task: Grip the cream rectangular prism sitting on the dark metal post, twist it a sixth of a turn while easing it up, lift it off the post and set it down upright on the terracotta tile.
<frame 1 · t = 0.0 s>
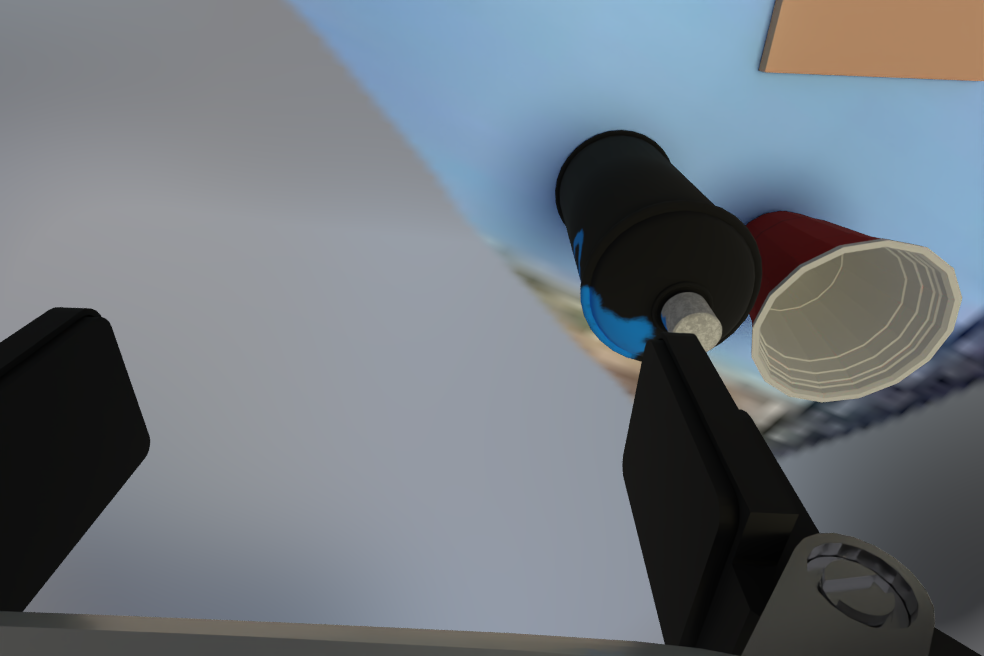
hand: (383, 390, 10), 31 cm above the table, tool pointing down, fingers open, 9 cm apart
plastic cup: (767, 249, 42), on the table
aerosol can: (613, 189, 40), on the table
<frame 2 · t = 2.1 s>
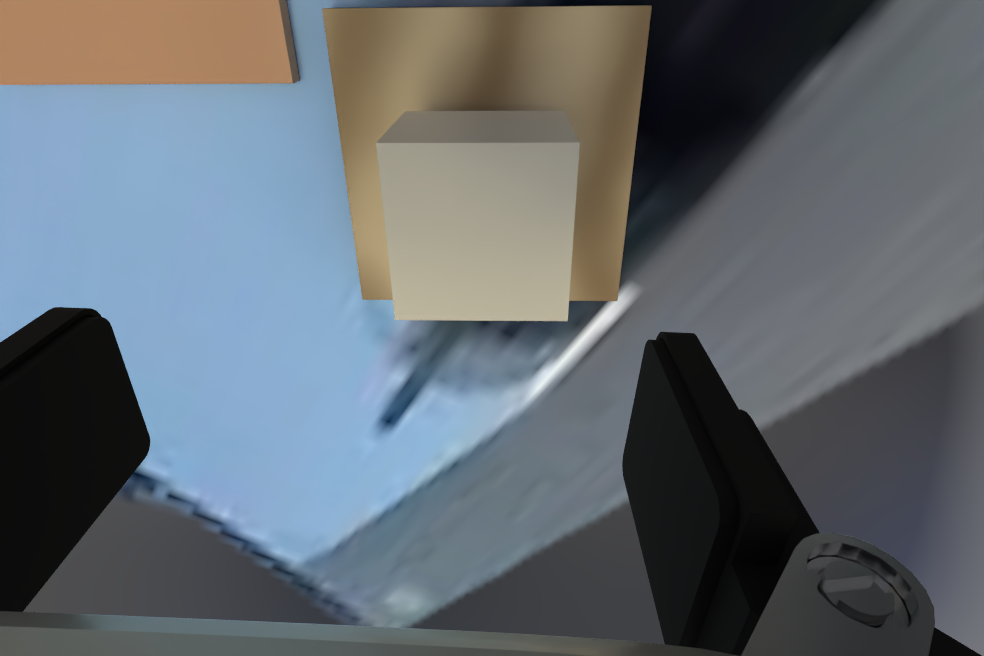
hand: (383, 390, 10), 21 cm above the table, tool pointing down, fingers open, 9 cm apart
cream rectangular prism: (485, 189, 25), point 4 cm above the table, touching post stand
post stand: (488, 164, 29), on the table
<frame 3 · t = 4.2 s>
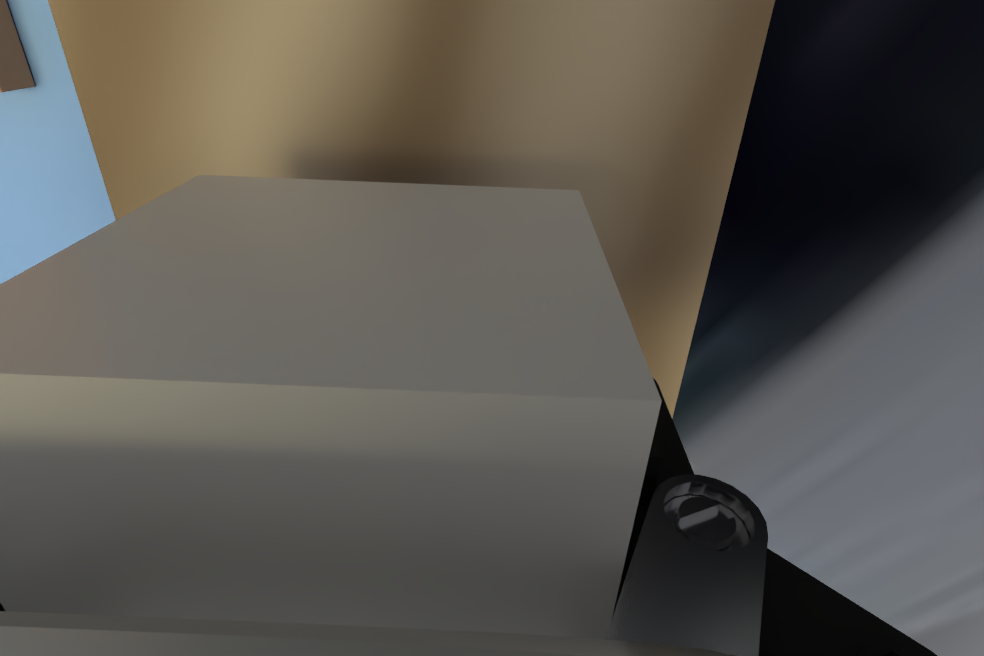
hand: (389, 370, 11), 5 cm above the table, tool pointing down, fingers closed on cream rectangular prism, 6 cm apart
cream rectangular prism: (398, 344, 11), point 4 cm above the table, touching gripper, post stand
post stand: (424, 260, 15), on the table
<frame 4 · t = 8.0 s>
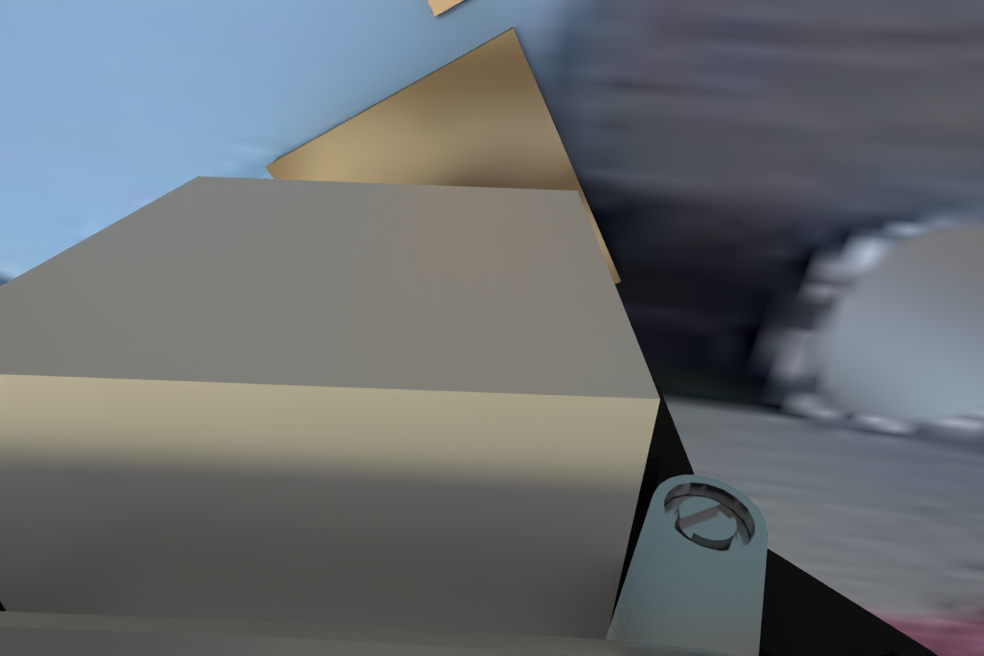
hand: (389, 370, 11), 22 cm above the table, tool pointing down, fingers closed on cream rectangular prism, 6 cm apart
cream rectangular prism: (397, 345, 11), point 21 cm above the table, touching gripper
post stand: (453, 217, 32), on the table
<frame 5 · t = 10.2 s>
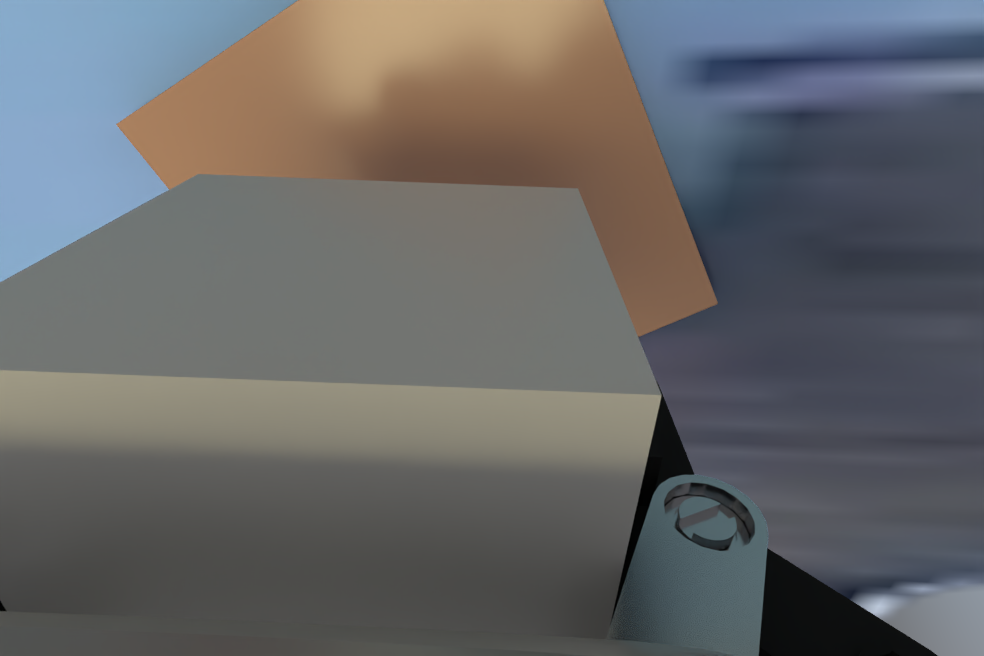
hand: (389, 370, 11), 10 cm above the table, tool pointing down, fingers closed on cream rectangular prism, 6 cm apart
tile: (441, 210, 19), on the table
cream rectangular prism: (397, 343, 11), point 9 cm above the table, touching gripper
when the fingers open (3 cm above the table, at t = 12.1 s): cream rectangular prism drops 1 cm, resting on tile.
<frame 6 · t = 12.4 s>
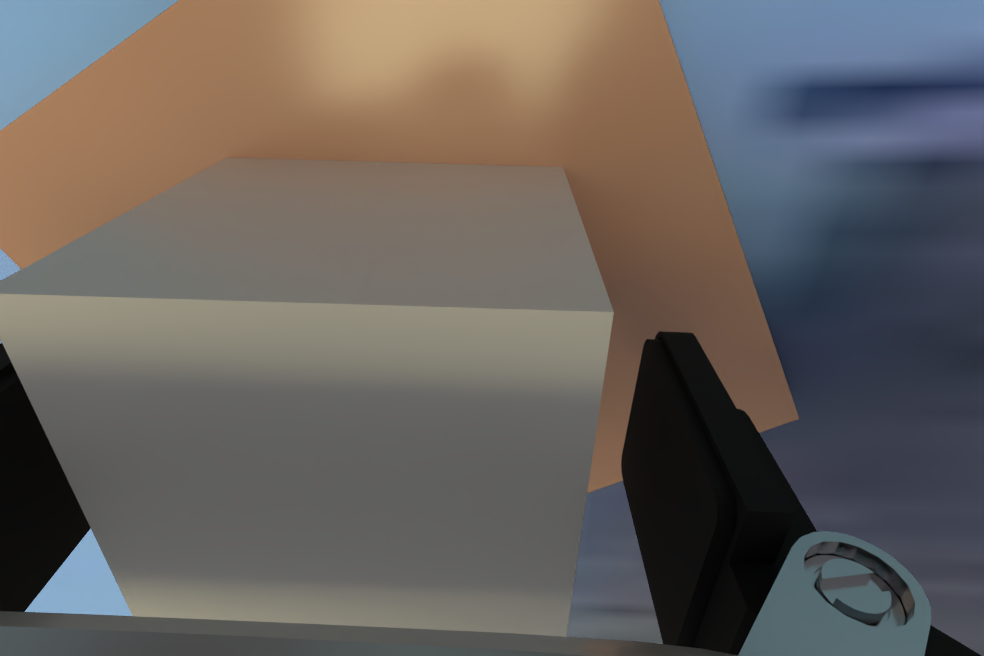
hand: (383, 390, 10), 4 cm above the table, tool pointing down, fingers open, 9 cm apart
tile: (414, 291, 14), on the table
cream rectangular prism: (403, 310, 13), point 1 cm above the table, touching tile
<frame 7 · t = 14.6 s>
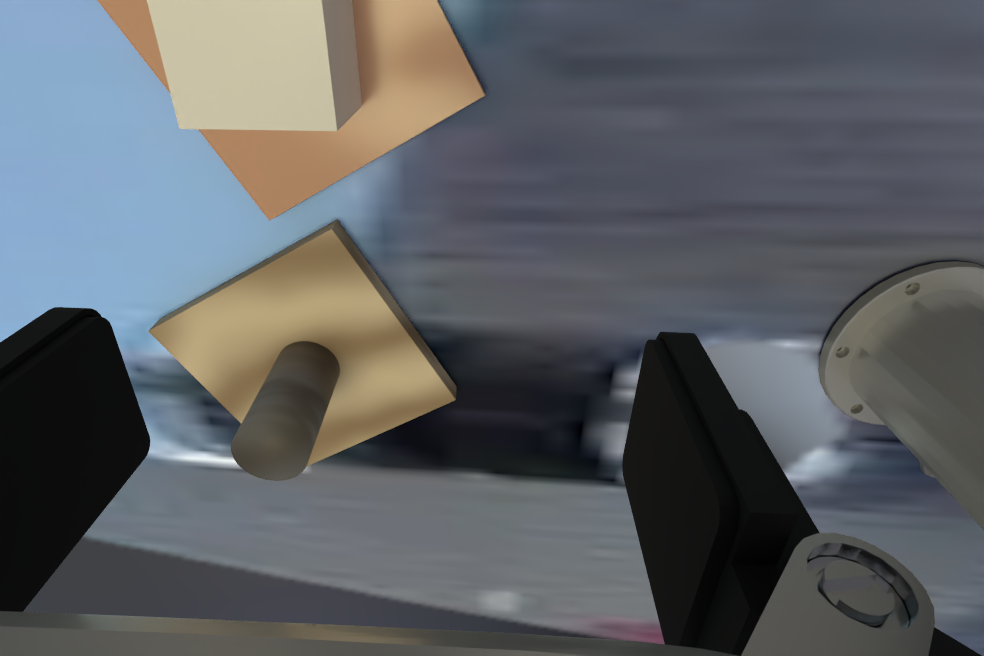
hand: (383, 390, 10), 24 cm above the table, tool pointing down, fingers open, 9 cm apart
tile: (294, 31, 28), on the table
cream rectangular prism: (286, 32, 27), point 1 cm above the table, touching tile
post stand: (314, 354, 38), on the table
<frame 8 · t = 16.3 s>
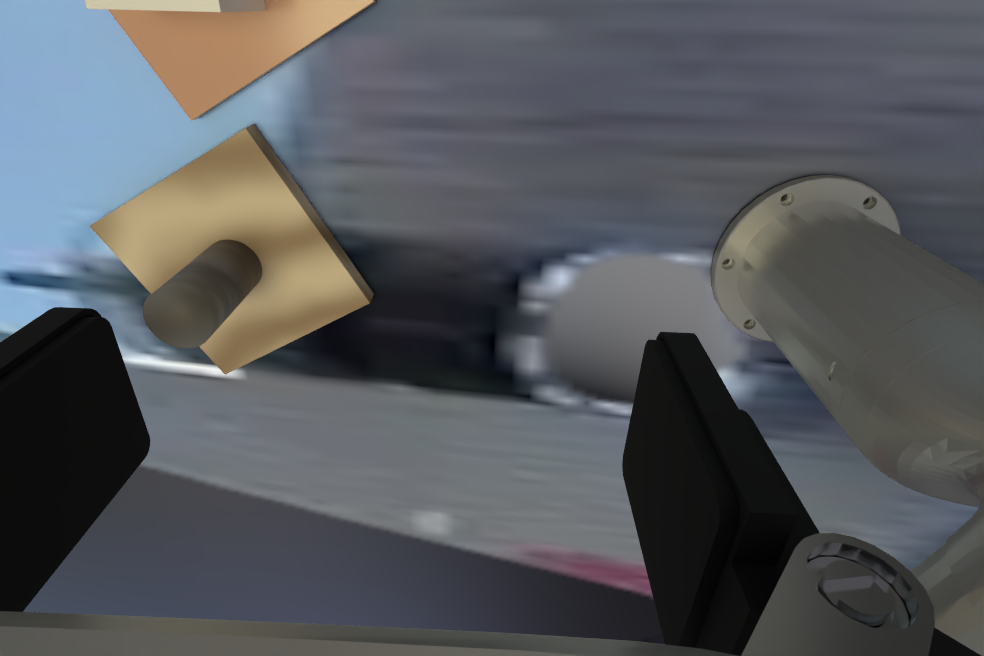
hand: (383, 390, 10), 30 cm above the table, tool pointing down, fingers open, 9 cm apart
post stand: (242, 257, 42), on the table
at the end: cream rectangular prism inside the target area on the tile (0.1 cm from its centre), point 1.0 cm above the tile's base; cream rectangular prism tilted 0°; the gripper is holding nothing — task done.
